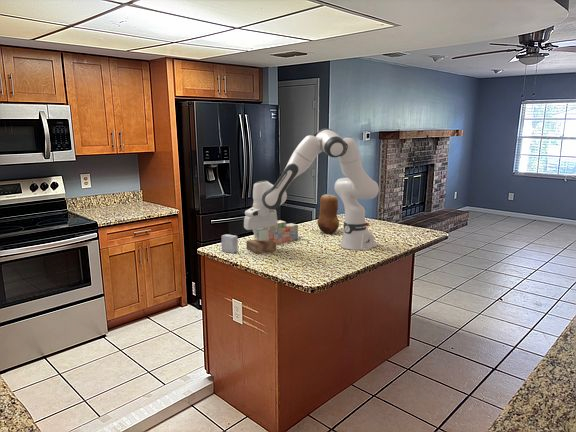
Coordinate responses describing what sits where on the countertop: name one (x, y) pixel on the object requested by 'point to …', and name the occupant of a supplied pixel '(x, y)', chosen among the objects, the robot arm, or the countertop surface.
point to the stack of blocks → (283, 232)
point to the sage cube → (262, 234)
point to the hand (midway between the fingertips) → (261, 235)
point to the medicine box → (229, 243)
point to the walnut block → (261, 246)
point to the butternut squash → (328, 214)
